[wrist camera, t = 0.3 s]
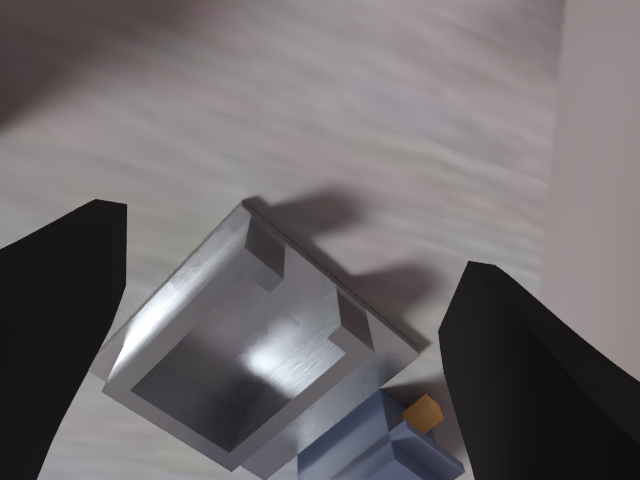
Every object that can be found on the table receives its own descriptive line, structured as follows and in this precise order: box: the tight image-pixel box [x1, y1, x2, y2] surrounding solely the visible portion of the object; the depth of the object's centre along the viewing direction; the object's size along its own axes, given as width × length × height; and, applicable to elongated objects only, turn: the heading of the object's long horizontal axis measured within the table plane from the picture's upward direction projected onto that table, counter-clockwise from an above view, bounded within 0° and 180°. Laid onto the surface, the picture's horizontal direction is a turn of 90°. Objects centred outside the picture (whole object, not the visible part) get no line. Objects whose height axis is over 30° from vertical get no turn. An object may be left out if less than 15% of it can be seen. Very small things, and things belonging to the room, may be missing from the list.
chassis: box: [88, 200, 420, 480], centre depth 23 cm, size 11×11×4 cm
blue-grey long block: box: [298, 389, 465, 480], centre depth 26 cm, size 9×4×4 cm, turn 136°
